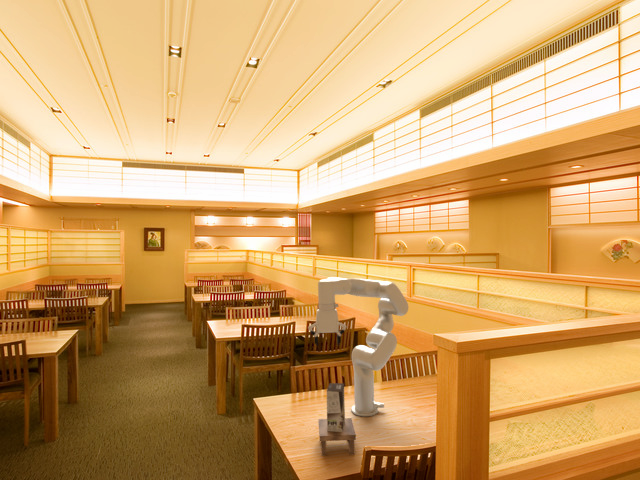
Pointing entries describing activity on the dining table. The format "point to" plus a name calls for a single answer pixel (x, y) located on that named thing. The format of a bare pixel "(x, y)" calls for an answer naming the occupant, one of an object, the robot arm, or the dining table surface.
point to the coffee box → (335, 407)
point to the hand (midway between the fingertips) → (327, 344)
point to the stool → (337, 435)
